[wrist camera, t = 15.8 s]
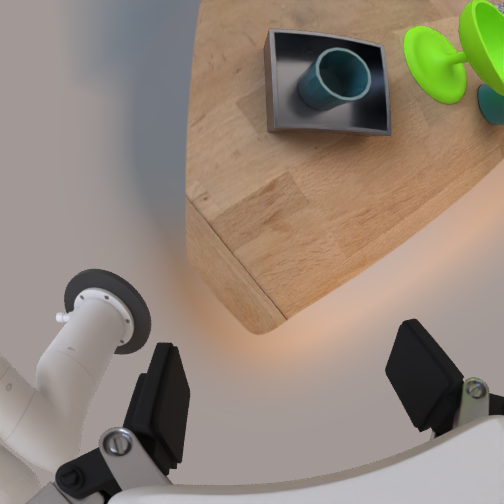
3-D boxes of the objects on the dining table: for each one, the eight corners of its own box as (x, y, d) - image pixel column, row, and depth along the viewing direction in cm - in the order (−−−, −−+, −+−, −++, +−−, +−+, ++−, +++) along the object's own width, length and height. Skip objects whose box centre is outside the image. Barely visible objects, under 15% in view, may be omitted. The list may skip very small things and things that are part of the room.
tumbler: (299, 108, 33) (317, 97, 24) (296, 65, 30) (313, 44, 22) (344, 112, 33) (373, 104, 24) (341, 70, 30) (368, 53, 22)
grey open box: (267, 132, 35) (274, 128, 28) (263, 47, 30) (269, 28, 23) (367, 136, 35) (391, 136, 29) (362, 57, 30) (383, 45, 24)
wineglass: (437, 21, 26) (497, -1, 9) (475, 92, 31) (541, 91, 14) (386, 34, 28) (453, -2, 11) (432, 115, 33) (511, 115, 17)
